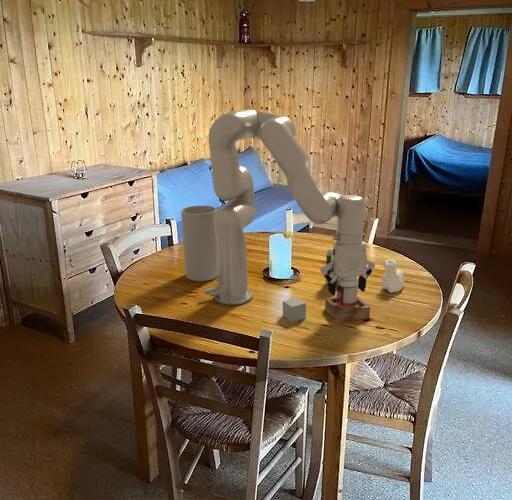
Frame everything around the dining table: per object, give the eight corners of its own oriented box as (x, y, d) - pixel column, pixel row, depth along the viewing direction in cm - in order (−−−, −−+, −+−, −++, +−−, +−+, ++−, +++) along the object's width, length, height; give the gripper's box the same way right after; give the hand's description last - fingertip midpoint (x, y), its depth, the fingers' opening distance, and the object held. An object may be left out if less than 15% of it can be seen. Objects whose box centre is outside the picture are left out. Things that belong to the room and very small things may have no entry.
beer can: (332, 288, 179) (333, 255, 175) (322, 283, 183) (323, 251, 179) (344, 284, 182) (345, 252, 178) (334, 280, 186) (335, 248, 182)
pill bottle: (334, 302, 162) (335, 268, 158) (353, 301, 162) (355, 267, 159) (339, 311, 156) (340, 275, 152) (359, 309, 156) (361, 274, 153)
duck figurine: (398, 289, 183) (382, 261, 184) (416, 280, 178) (398, 251, 179) (383, 300, 174) (365, 270, 175) (401, 291, 169) (383, 261, 170)
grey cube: (292, 322, 155) (292, 306, 154) (282, 316, 159) (282, 301, 158) (305, 318, 158) (305, 303, 156) (296, 312, 162) (296, 297, 160)
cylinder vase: (216, 268, 200) (213, 204, 192) (222, 280, 188) (219, 212, 180) (183, 271, 197) (179, 207, 189) (187, 283, 185) (183, 215, 177)
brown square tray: (338, 322, 154) (339, 311, 153) (325, 309, 163) (325, 298, 162) (369, 318, 157) (369, 306, 155) (354, 304, 166) (354, 294, 165)
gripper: (327, 244, 147) (325, 300, 152) (382, 238, 151) (378, 293, 157) (317, 237, 153) (315, 290, 159) (370, 231, 158) (366, 284, 163)
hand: (346, 291), depth 158 cm, fingers open, 9 cm apart
